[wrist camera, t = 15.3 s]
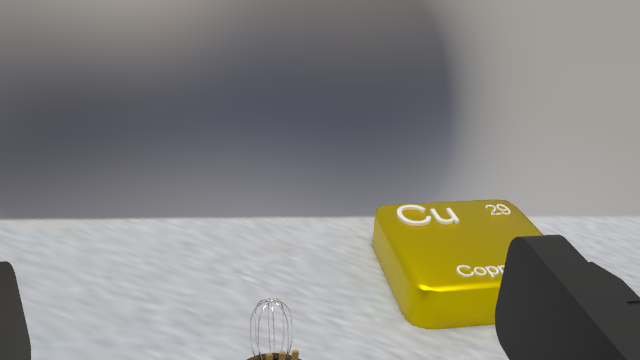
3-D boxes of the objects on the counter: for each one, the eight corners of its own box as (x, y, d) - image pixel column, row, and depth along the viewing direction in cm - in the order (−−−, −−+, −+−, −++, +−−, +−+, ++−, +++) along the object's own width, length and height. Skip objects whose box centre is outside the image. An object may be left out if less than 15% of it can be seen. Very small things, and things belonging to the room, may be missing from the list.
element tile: (409, 334, 50) (415, 286, 48) (367, 240, 63) (370, 199, 61) (577, 320, 52) (589, 274, 50) (503, 232, 66) (510, 193, 64)
